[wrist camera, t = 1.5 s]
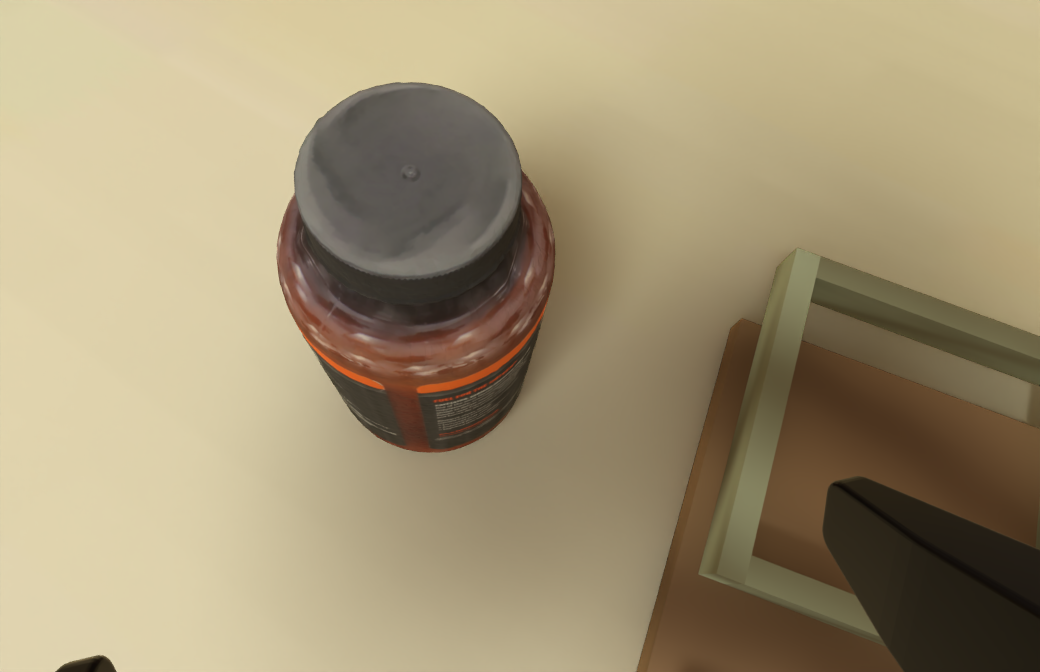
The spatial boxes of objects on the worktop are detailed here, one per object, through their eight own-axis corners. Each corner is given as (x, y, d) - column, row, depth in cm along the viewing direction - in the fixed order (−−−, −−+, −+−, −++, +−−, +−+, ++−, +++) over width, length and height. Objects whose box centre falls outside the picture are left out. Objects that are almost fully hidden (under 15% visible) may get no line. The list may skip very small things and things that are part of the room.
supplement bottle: (556, 339, 23) (643, 136, 13) (461, 493, 21) (467, 407, 11) (407, 250, 24) (369, -15, 13) (301, 392, 22) (155, 215, 11)
